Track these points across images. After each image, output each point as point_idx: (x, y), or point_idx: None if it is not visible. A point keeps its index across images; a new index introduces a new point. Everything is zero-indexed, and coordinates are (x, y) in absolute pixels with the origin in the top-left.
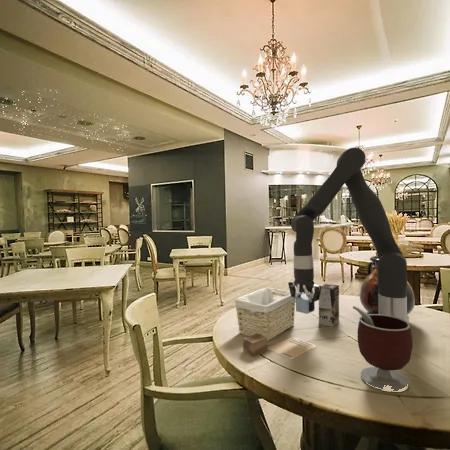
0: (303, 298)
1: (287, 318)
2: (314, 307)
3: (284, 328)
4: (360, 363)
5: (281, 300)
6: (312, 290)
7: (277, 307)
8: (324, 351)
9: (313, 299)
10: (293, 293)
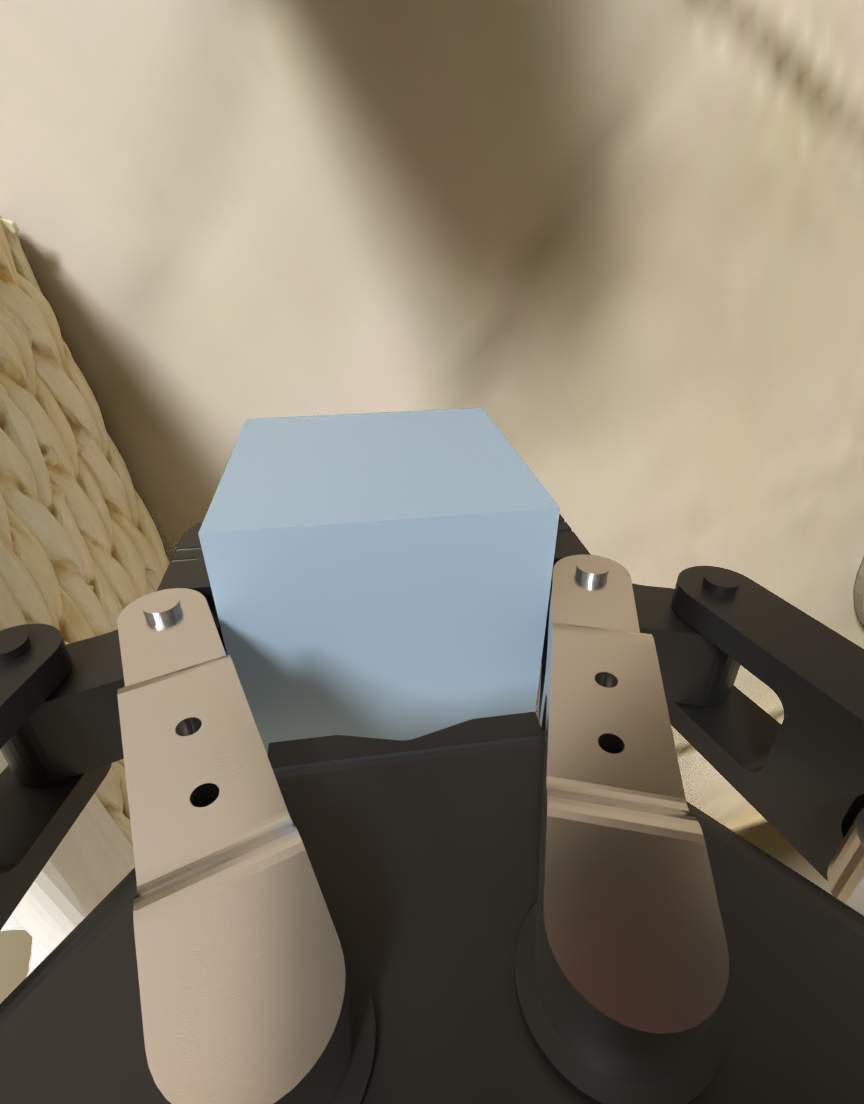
0: (377, 681)
1: (54, 455)
2: (562, 523)
3: (128, 492)
4: (847, 485)
5: (49, 861)
6: (662, 721)
7: (131, 850)
8: (612, 517)
9: (669, 709)
10: (68, 802)
